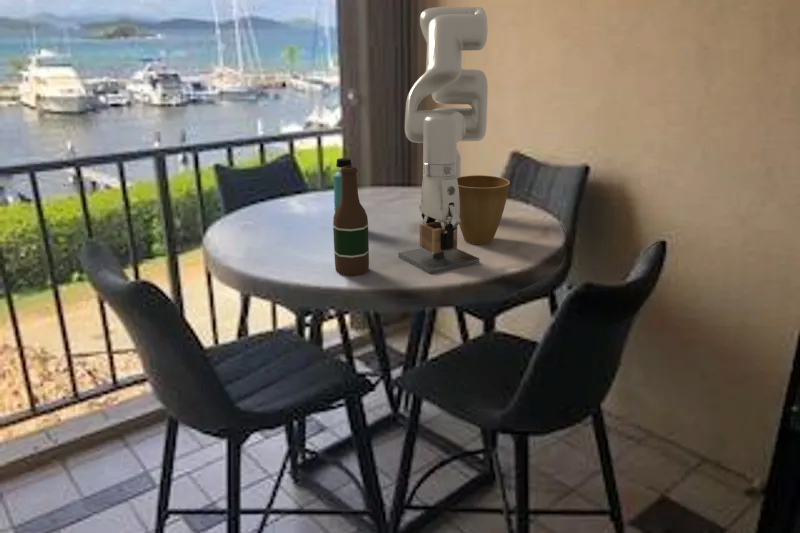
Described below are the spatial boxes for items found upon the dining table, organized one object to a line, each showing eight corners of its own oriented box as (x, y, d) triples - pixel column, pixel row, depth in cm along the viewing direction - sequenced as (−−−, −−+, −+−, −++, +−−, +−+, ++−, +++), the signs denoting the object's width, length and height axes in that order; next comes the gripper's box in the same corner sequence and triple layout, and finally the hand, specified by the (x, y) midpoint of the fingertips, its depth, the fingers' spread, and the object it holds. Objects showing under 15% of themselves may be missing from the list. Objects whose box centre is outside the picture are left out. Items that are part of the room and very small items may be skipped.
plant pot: (440, 236, 169) (441, 178, 164) (488, 230, 175) (490, 173, 170) (467, 252, 156) (469, 189, 151) (517, 244, 162) (521, 183, 157)
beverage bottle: (354, 233, 173) (352, 160, 166) (331, 232, 174) (328, 160, 168) (361, 227, 179) (359, 156, 172) (338, 225, 180) (335, 156, 174)
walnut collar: (441, 242, 154) (442, 220, 152) (456, 249, 149) (457, 226, 147) (419, 246, 151) (419, 224, 149) (434, 253, 146) (434, 230, 144)
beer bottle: (335, 265, 147) (331, 163, 139) (368, 264, 148) (366, 163, 140) (334, 277, 140) (330, 170, 132) (369, 276, 141) (367, 169, 133)
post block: (445, 248, 160) (446, 217, 157) (479, 263, 148) (480, 230, 146) (398, 257, 153) (398, 225, 150) (429, 273, 142) (429, 240, 139)
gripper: (475, 174, 138) (472, 252, 144) (432, 163, 152) (431, 233, 158) (447, 178, 135) (445, 257, 141) (406, 166, 149) (406, 238, 155)
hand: (438, 244), depth 149 cm, fingers closed on walnut collar, 6 cm apart
